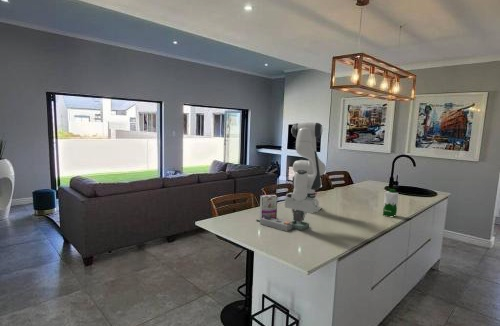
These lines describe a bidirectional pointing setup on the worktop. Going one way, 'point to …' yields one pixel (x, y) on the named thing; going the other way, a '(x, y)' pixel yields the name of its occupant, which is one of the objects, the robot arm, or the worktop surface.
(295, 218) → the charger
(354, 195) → the worktop surface
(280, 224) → the power strip
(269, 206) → the candy bar box
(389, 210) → the milk carton
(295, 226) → the felt tray
